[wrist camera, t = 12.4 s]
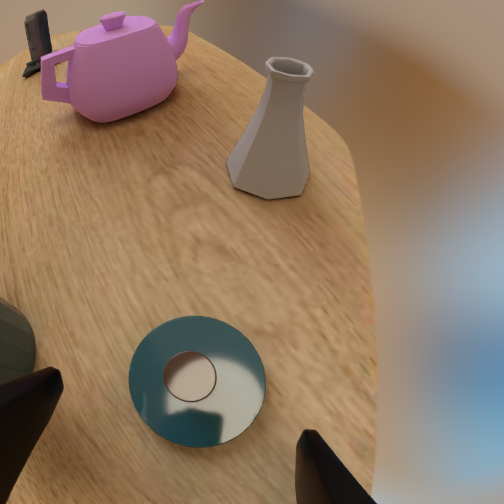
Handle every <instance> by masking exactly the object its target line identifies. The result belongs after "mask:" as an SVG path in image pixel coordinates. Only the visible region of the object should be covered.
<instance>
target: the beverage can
mask: <svg viewBox="0 0 504 504" xmlns="http://www.w3.org/2000/svg"><path fill="white" fill-rule="evenodd" d="M24 23H25V29H26V35H27V40H28V45H29V50H30V55H31V60H32V61H31V62H29V63H27V67H26V69H25V70H24V72H25V73H23V76H22V77H27V76H28V75H29V74H32V72H33V71H36V70H38V69H39V68H40V67H41V57H42V56H45V55H47V54H50V53H53V52H52V45H51V41H50V34H49V27H48V20H47V13H46V12H45V11H44V9H43V10H41V11H37V12H35V13H33V14H31V15H29V16H27V17H26V19H25V22H24ZM57 51H58V50H57ZM54 52H55V51H54Z"/></svg>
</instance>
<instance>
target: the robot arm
mask: <svg viewBox="0 0 504 504" xmlns="http://www.w3.org/2000/svg"><path fill="white" fill-rule="evenodd" d="M63 389H64V385H63V381H62V377H61V373H60V371H59V370H58V369H56V368H54V367H47V368H45V369H42V370H39V371H37V372H34V373H31V374H28V375H26V376H23V377H20V378H18V379H15V380H12V381H9V382H6V383H4V384H1V385H0V504H6V502H7V500H8V498H9V496H10V493H11V491H12V489H13V487H14V485H15V483H16V481H17V479H18V477H19V475H20V473H21V471H22V469H23V467H24V465H25V463H26V462H27V460H28V458H29V456H30V454H31V452H32V450H33V449H34V447H35V445H36V443H37V441H38V440H39V438H40V436H41V434H42V433H43V431H44V429H45V427H46V426H47V424H48V422H49V420H50V418H51V416H52V414H53V412H54V410H55V407H56V405H57V403H58V401H59V399H60V396H61V394H62V392H63ZM295 490H296V501H297V504H377V503H376V502H375V501H374V500H373V499H372V498H371V496H370V495H368V493H367V492H366V491H365V490H364V488H363V487H362V486H361V485H360V484H359V483H358V481H357V480H356V479H355V478H354V477H353V475H352V474H351V473H350V472H349V471H348V469H347V468H346V467H345V466H344V465H343V463H342V462H341V461H340V460H339V458H338V457H337V456H336V455H335V453H334V452H333V451H332V450H331V448H330V447H329V446H328V445H327V443H326V442H325V441H324V440H323V438H322V437H321V436H320V434H319V433H318V432H317V431H316V430H310V429H305V430H304V431H303V432H302V434H301V436H300V438H299V440H298V442H297V446H296V468H295Z"/></svg>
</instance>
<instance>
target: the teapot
mask: <svg viewBox="0 0 504 504" xmlns="http://www.w3.org/2000/svg"><path fill="white" fill-rule="evenodd" d="M203 2H204V1H203V0H201V1H196V2H193V3H190V4H187V5H185V6H184V7H182V8H181V10H180V11H179V13H178V15H177V17H176V21H175V26H174V29H173V31H172V33H171V35H170V36H169V37H168V38H166V37H165V35H164V33H163V32H162V30H161V28H160V27H159V26H158V24H157V23H156V22H155V21H154V20H153V19H151V18H149V17H144V16H128V17H125V14H126V12H114V13H110V14H108V15H105V16H103V17H101V18H100V22H101V24H99V25H96V26H94V27H91V28H89V29H86V30H84V31H82V32H81V33H79V34H78V35H77V37H76V38H75V41H74V43H73V46H70V47H67V48H64V49H61V50H58V51H55V52H53V53H50V54H47V55H45V56H42V57H41V95H42V98H43V100H49V101H57V102H64V103H71V105H72V106H73V108H74V109H75V110H76V111H78V112H79V113H80V114H82V115H83V116H85V117H86V118H88V119H90V120H92V121H95V122H111V121H115V120H118V119H121V118H124V117H127V116H130V115H133V114H135V113H138V112H140V111H143V110H145V109H147V108H150V107H152V106H154V105H156V104H158V103H160V102H162V101H164V100H165V99H166V98H167V97H168V96H169V94H170V93H171V92H172V90H173V89H174V87H175V85H176V83H177V80H178V71H177V65H176V60H177V59H178V58H179V57H180V56H181V55H182V53H183V52H184V50H185V48H186V45H187V41H188V27H189V20H190V17H191V14H192V13H193V11H194V9H196V8H197V7H198V6H199V5H200V4H201V3H203ZM68 60H69V62H68V68H67V83H60V82H56V77H55V67H54V64H57V63H60V62H64V61H68Z"/></svg>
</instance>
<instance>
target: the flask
mask: <svg viewBox="0 0 504 504" xmlns="http://www.w3.org/2000/svg"><path fill="white" fill-rule="evenodd" d="M265 69H266V71H268V78H267V83H266V88H265V91H264V94H263V96H262V99H261V101H260V104H259V107H258V109H257V111H256V112H255V114H254V116H253V118H252V119H251V121H250V123H249V124H248V126H247V128H246V130H245V131H244V133H243V135H242V137H241V138H240V140H239V141H238V143H237V145H236V146H235V148H234V150H233V151H232V153H231V155H230V156H229V158H228V160H227V162H226V163H227V166H228V170H229V173H230V176H231V179H232V183H233V186H234V187H236V188H238V189H241V190H244V191H247V192H249V193H252V194H255V195H257V196H260V197H263V198H265V199H274V198H282V197H289V196H297V195H302V192H303V190H304V187H305V185H306V182H307V179H308V177H309V174H310V167H309V160H308V153H307V146H306V138H305V129H304V120H303V102H304V92H305V88H306V84H307V83H308V82H309V80H310V79H311V77H312V76H313V74H314V70H313V69H312V68H311V67H310V66H309V65H308V64H307V63H306V62H302V61H299V60H296V59H292V58H286V57H285V58H283V57H271V58H270V59H269V60H268V61H267V62H266V63H265Z"/></svg>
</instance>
